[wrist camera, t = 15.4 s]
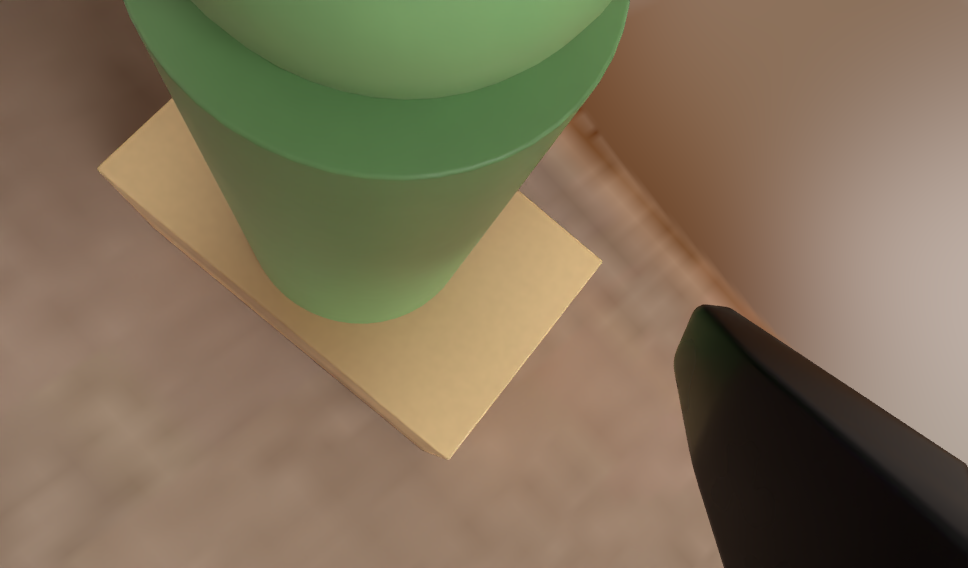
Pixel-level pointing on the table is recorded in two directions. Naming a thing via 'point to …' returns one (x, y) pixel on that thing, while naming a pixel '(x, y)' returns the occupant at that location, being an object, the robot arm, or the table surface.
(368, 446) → the table surface
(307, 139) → the green toy
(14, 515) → the table surface
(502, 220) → the birch block
